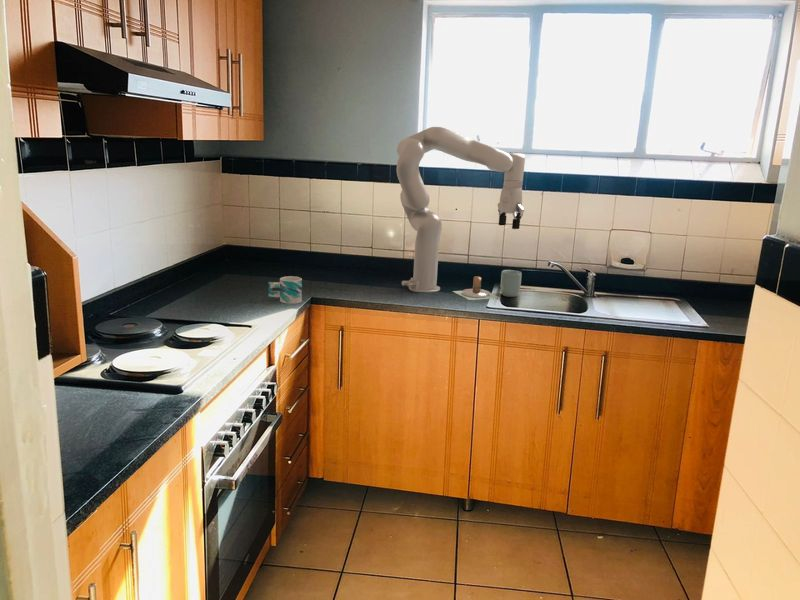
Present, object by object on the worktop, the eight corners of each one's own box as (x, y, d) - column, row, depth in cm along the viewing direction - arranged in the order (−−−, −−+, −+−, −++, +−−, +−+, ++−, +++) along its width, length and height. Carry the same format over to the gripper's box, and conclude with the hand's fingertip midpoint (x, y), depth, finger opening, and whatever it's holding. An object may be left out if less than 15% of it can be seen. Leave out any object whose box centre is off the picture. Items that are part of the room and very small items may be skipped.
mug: (301, 303, 238) (301, 281, 236) (267, 303, 237) (267, 280, 235) (301, 297, 246) (301, 276, 244) (269, 297, 245) (268, 275, 242)
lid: (471, 298, 254) (472, 281, 252) (457, 291, 264) (458, 274, 262) (495, 297, 258) (497, 279, 257) (481, 290, 268) (482, 273, 266)
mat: (469, 301, 252) (469, 299, 252) (452, 292, 265) (452, 291, 264) (500, 299, 258) (500, 297, 258) (482, 290, 270) (482, 289, 270)
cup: (520, 299, 259) (523, 274, 256) (501, 298, 259) (503, 273, 257) (517, 294, 267) (520, 270, 264) (498, 293, 267) (500, 269, 264)
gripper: (493, 182, 271) (489, 223, 276) (517, 186, 256) (513, 230, 261) (508, 182, 274) (504, 223, 279) (533, 187, 259) (528, 230, 264)
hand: (508, 227), depth 270 cm, fingers open, 9 cm apart
